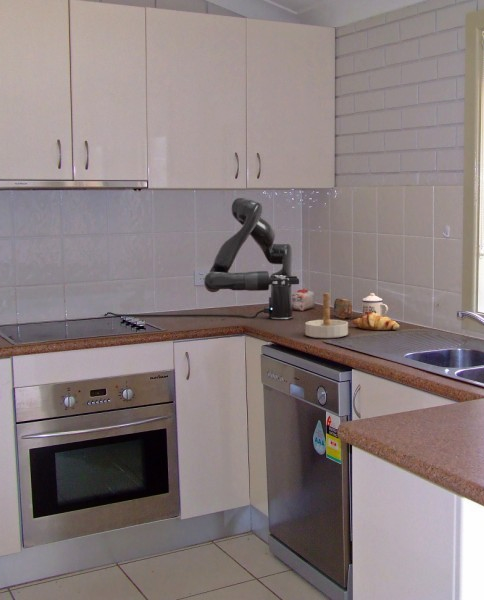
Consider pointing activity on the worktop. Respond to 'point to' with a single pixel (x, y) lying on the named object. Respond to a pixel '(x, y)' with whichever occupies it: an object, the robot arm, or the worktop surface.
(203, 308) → the worktop surface
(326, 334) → the bowl
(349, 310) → the tin
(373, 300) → the teacup with lid
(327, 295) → the wooden pestle
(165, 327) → the worktop surface
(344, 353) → the worktop surface
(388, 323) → the croissant
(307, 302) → the food item
